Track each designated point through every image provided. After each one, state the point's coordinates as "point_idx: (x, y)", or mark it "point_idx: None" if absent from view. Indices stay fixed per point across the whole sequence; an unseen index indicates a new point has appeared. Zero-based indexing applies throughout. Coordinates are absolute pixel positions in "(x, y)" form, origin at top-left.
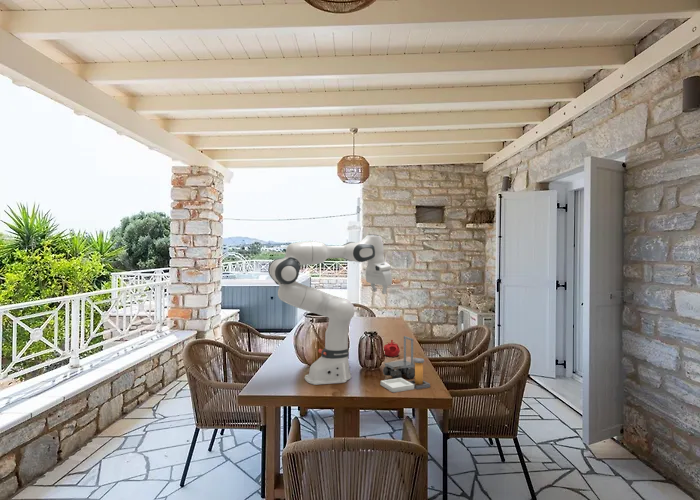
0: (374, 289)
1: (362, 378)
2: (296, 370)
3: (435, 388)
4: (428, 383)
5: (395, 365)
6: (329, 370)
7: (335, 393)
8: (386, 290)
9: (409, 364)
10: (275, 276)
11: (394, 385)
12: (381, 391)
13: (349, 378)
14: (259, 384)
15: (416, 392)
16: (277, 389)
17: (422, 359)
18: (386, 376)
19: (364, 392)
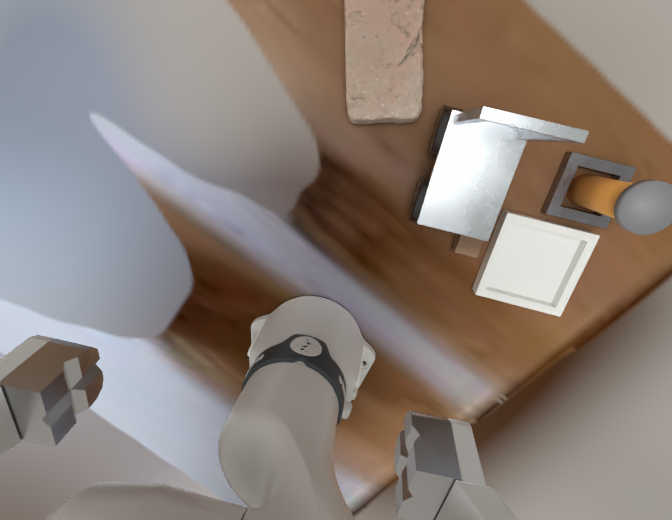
0: (69, 415)
1: (375, 285)
2: (181, 382)
3: (653, 161)
4: (628, 170)
5: (479, 215)
6: (348, 416)
7: None
8: (482, 474)
9: (516, 152)
10: None
11: (521, 267)
12: (517, 326)
13: (357, 325)
14: None
15: (617, 250)
16: None
17: (667, 195)
18: (463, 253)
19: (484, 367)
